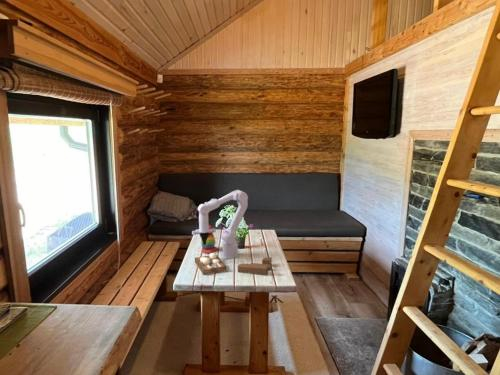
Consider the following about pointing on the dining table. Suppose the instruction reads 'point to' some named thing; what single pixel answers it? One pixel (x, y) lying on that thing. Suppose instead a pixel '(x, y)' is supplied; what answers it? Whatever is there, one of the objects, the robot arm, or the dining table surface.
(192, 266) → the dining table surface
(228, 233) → the robot arm
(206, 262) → the button
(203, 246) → the stacking bear
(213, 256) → the button
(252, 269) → the wooden block set
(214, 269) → the button board
